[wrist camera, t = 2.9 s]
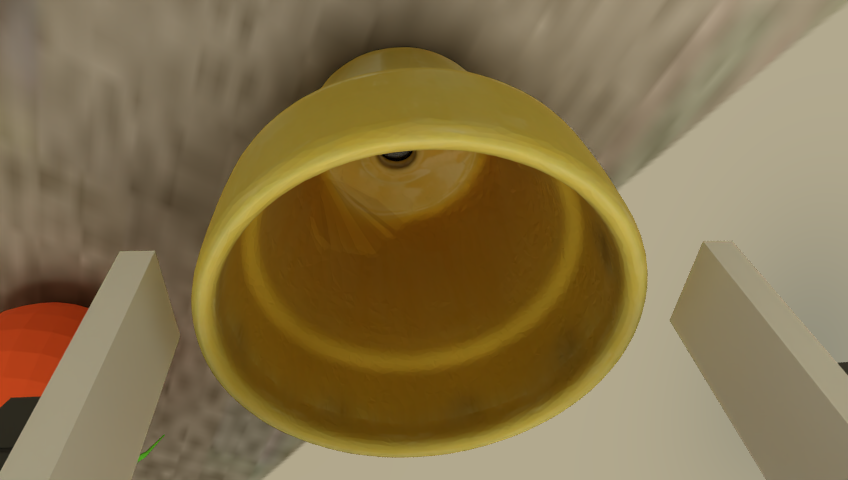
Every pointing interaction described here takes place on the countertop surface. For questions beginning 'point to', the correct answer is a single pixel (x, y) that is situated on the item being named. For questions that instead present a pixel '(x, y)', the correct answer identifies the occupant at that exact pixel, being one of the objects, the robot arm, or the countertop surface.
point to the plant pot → (416, 264)
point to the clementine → (36, 347)
